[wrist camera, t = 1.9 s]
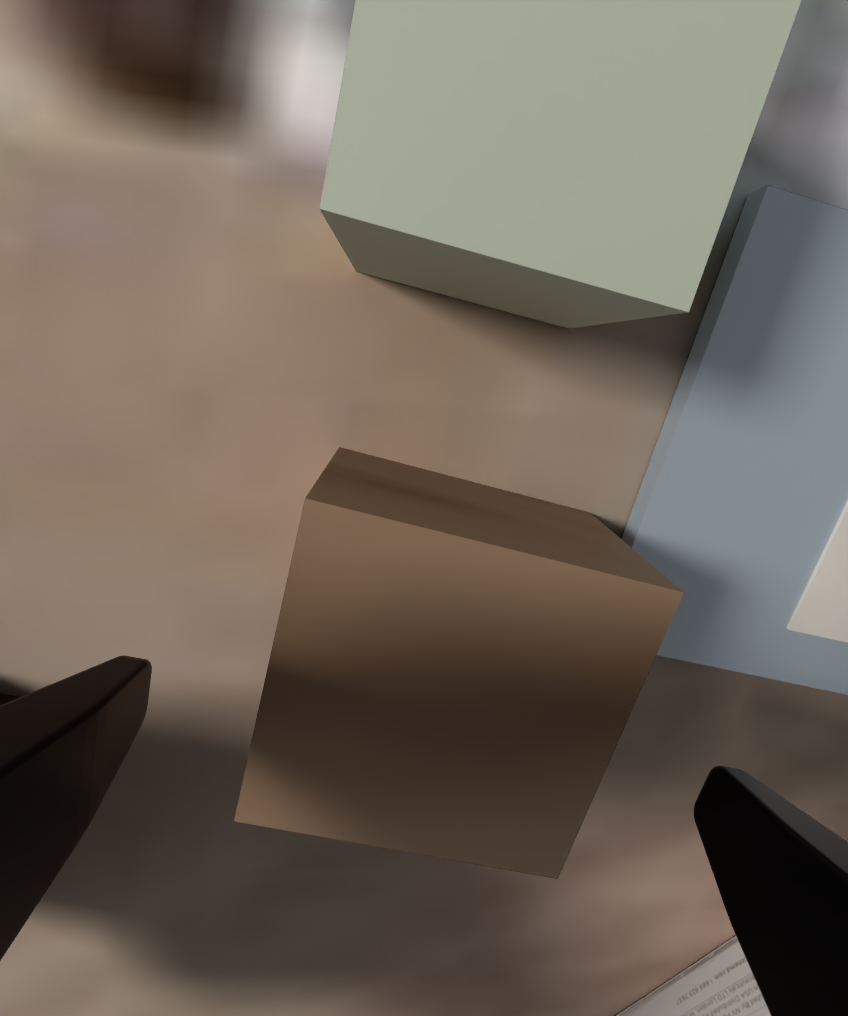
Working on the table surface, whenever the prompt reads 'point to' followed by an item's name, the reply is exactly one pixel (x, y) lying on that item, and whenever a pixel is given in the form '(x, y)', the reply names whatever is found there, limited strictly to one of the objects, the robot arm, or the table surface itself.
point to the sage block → (547, 147)
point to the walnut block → (449, 668)
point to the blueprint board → (760, 457)
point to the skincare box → (707, 989)
